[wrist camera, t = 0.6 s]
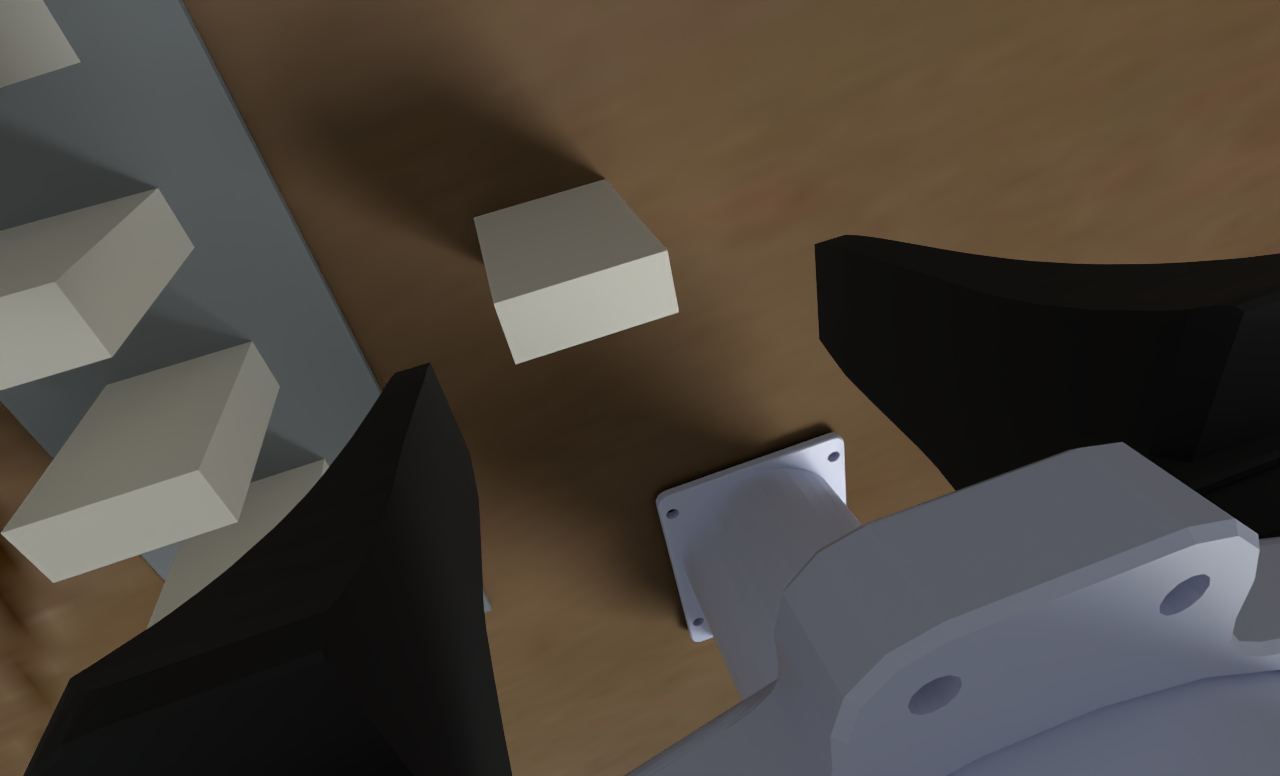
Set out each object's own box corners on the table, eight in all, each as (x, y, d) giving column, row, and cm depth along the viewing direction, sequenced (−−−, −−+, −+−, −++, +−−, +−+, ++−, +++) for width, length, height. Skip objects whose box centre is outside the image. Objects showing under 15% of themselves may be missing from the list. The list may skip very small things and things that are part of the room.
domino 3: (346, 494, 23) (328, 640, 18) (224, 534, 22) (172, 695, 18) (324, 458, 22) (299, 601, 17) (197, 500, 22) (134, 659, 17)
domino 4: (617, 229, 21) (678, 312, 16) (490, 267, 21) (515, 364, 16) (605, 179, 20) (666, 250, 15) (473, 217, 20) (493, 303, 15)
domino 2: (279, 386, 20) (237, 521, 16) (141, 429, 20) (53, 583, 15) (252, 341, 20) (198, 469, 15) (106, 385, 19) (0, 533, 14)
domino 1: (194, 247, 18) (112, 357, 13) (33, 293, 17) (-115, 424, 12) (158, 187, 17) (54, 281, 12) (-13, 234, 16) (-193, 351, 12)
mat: (491, 604, 28) (491, 610, 28) (267, 685, 27) (266, 691, 27) (57, -243, 13) (50, -247, 13) (-476, -138, 12) (-495, -140, 12)
